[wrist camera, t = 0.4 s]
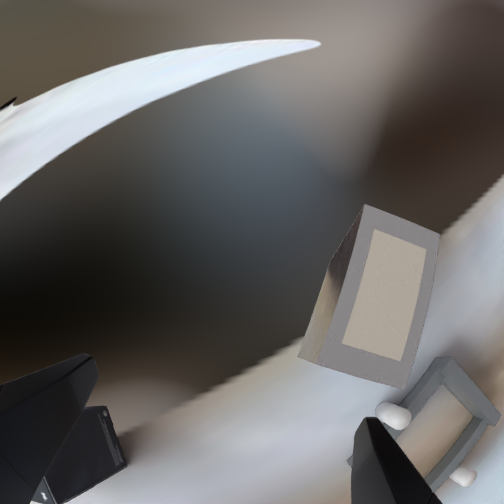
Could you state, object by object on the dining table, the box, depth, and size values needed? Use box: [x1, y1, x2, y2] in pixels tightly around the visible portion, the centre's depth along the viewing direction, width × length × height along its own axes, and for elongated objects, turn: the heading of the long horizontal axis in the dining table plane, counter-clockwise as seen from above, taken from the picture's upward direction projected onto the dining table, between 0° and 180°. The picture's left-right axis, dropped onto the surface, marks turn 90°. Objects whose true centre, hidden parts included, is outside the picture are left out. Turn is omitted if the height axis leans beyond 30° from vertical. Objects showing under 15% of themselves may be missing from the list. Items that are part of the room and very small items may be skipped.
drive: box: [297, 204, 440, 389], centre depth 17 cm, size 8×4×10 cm, turn 159°
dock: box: [347, 357, 501, 493], centre depth 16 cm, size 11×13×4 cm
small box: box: [32, 406, 127, 504], centre depth 15 cm, size 11×6×10 cm, turn 107°
